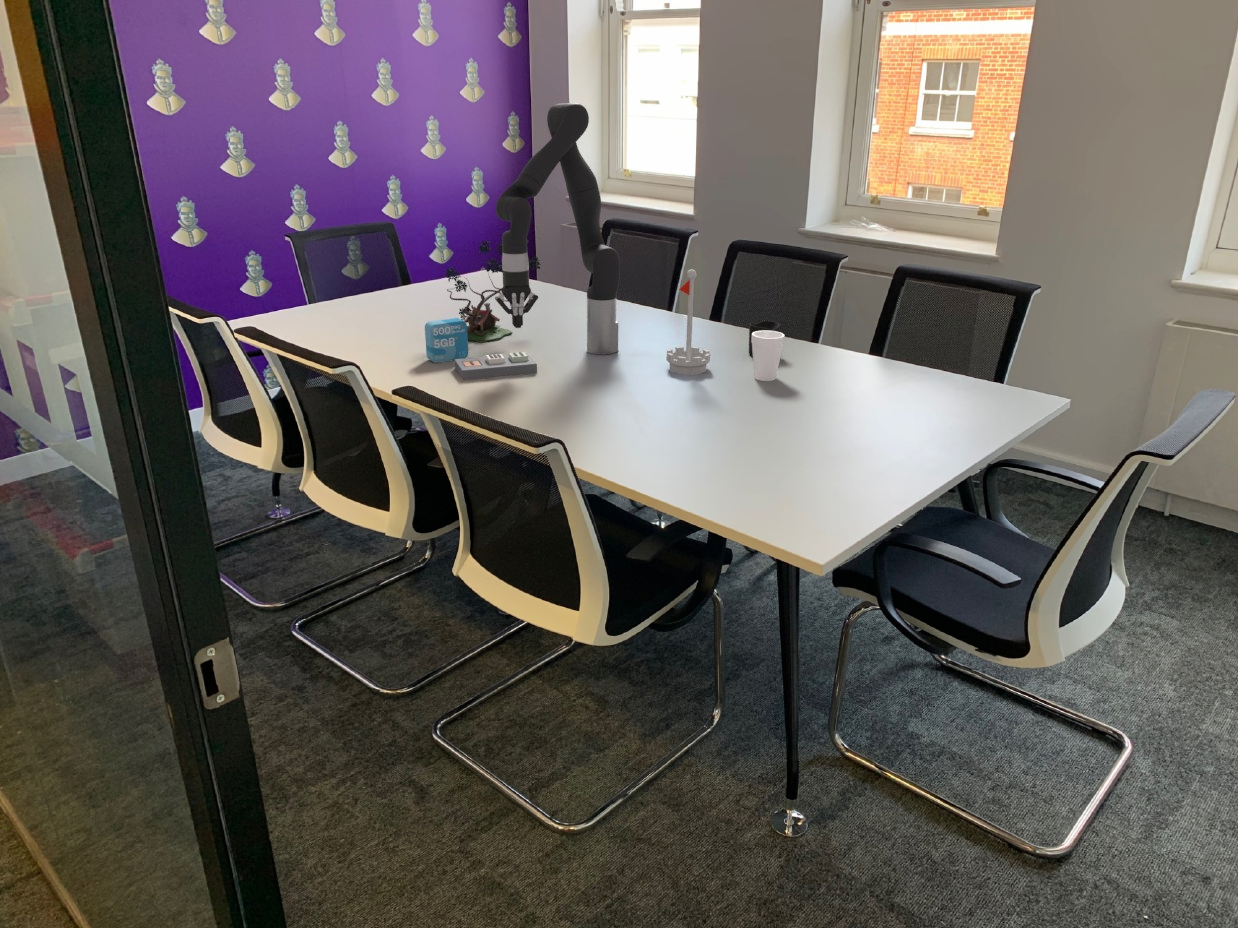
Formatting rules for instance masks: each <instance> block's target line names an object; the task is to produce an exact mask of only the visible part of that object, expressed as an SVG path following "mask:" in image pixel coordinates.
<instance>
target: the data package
mask: <svg viewBox="0 0 1238 928" xmlns="http://www.w3.org/2000/svg"><path fill="white" fill-rule="evenodd" d="M461 319H462V318H458V317H455V318H446V319H439V320H432V321H427V322H426V323H425V325H424V336H425V349H426V351H425V352H426V358H427V359H428V360H429V361H431V362H433V363H434V364H441V363H446V362H452V361H454V359H463V358H468V356H469V345H468V344H469V343H468V342H469V340H468V337H467V326H468V323H466V322H465V321H464V319H462V320H461Z"/></svg>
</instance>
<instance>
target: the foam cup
mask: <svg viewBox="0 0 1238 928" xmlns="http://www.w3.org/2000/svg"><path fill="white" fill-rule="evenodd" d="M751 343H752V352H753V357H752V365H753V376H754V377H753V378H754V380H757V381H762V382H772V381H775V380H776V378H777V374H778V370H779V366H780V361H781V357H782V350H783V345H785V334H784V333H783V332H780V331H779V332H777V331H769V330H762V331H755V332H753V333H752V338H751Z"/></svg>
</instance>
